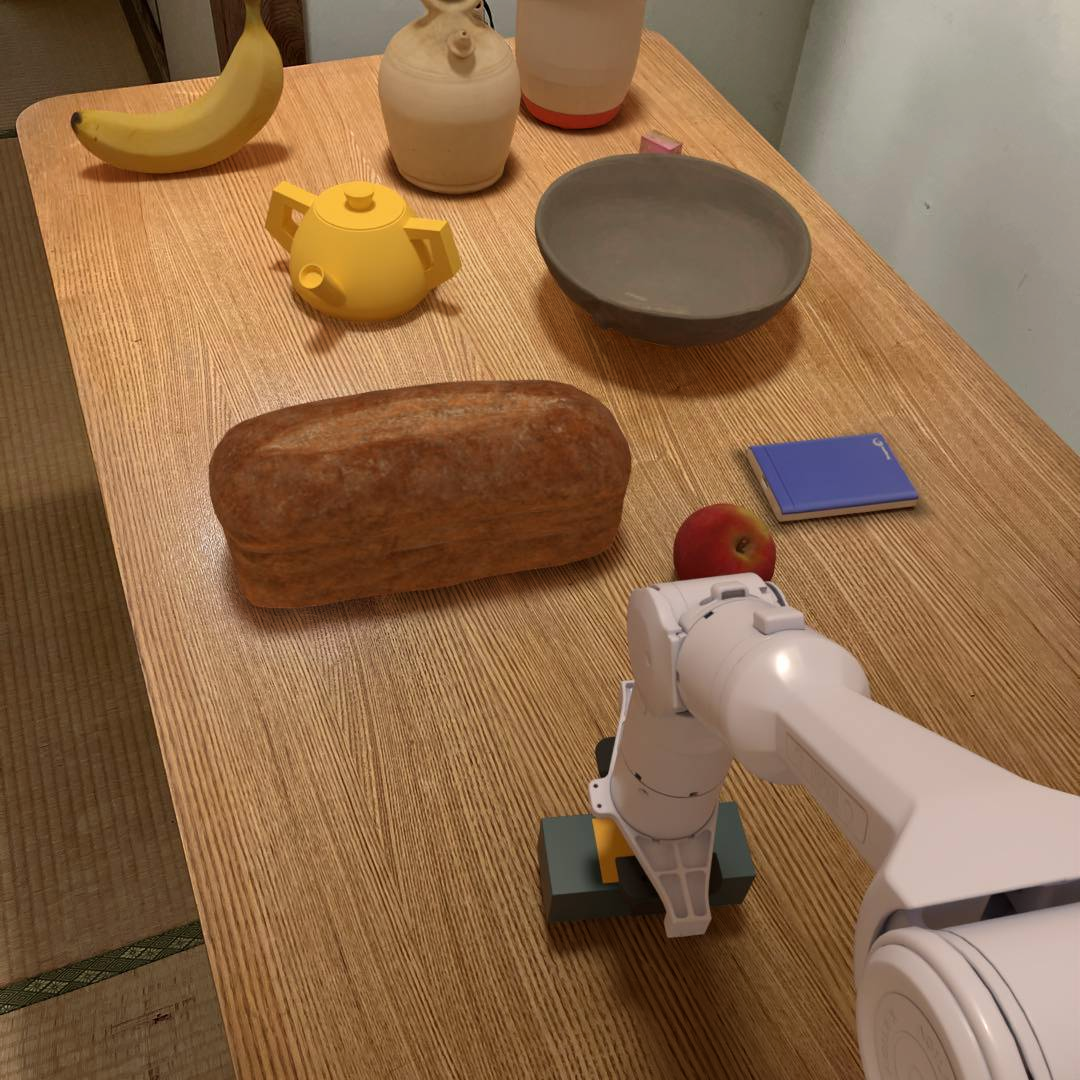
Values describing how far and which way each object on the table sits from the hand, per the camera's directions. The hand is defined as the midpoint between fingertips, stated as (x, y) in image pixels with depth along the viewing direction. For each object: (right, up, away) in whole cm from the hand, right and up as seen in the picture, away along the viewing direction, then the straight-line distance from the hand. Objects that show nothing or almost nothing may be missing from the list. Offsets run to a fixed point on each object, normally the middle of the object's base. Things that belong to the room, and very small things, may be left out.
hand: (639, 865), depth 65 cm
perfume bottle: (+10, +61, +60) cm, 86 cm away
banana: (-45, +62, +56) cm, 94 cm away
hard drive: (+19, +25, +29) cm, 42 cm away
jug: (-16, +63, +59) cm, 88 cm away
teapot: (-24, +43, +41) cm, 65 cm away
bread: (-15, +19, +21) cm, 32 cm away
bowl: (+6, +43, +44) cm, 61 cm away
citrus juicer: (-3, +74, +71) cm, 103 cm away
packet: (0, -1, +1) cm, 1 cm away
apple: (+8, +16, +20) cm, 26 cm away
